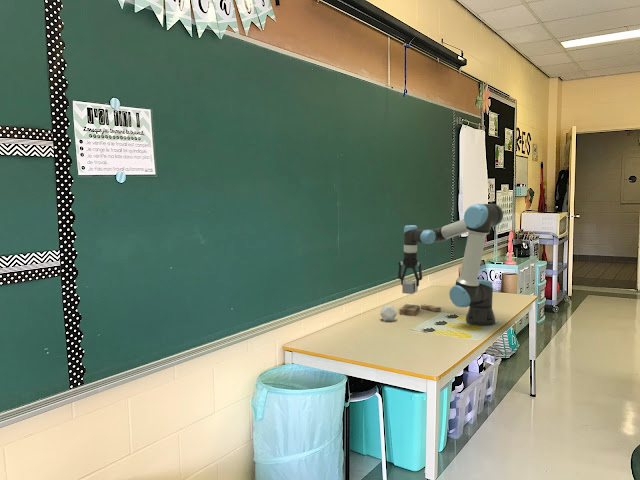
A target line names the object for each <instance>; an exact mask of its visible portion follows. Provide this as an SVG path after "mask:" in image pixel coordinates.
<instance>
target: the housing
mask: <svg viewBox="0 0 640 480" xmlns="http://www.w3.org/2000/svg"><path fill="white" fill-rule="evenodd" d="M415 281H416V279H414V280H411V279H409V280H405V282H404V283H403V284H402V285H401V286H402V289H401V291H402V293H401V294H407V295H413V294H415V293H416V292H415ZM418 287H419V286H417V292H418V289H419V288H418Z"/></svg>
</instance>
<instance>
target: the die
mask: <svg viewBox="0 0 640 480" xmlns="http://www.w3.org/2000/svg"><path fill="white" fill-rule="evenodd" d="M397 313H398V312H397V309H395V306H394V305H390V304H389V305H382V308H381V311H380V316H381V318H382V320H383V322H395V319H396V317H397Z"/></svg>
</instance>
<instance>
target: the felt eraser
mask: <svg viewBox="0 0 640 480" xmlns="http://www.w3.org/2000/svg"><path fill="white" fill-rule="evenodd" d="M420 310H425V311H428V312H433V313H439V312H440V313H441V312H442V308H441V307H440V306H435V305H431V304H427V303H425V304H421V305H420Z"/></svg>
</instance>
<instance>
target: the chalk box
mask: <svg viewBox="0 0 640 480" xmlns="http://www.w3.org/2000/svg"><path fill="white" fill-rule="evenodd" d="M405 305H417V306H419V304H417V303H412V302H406V303H405Z"/></svg>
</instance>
